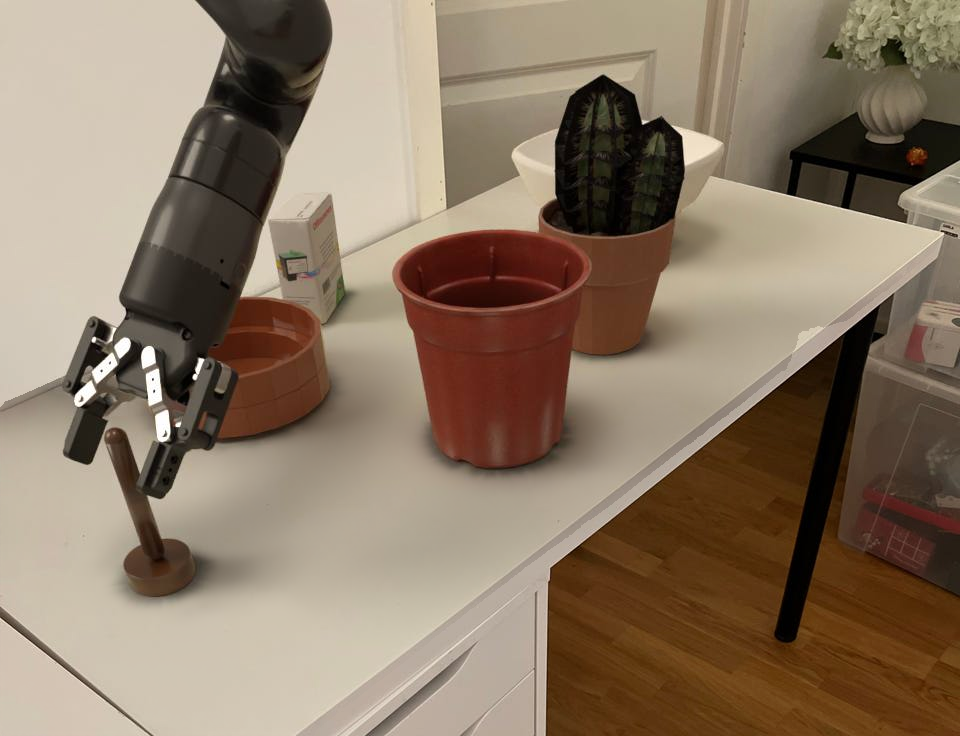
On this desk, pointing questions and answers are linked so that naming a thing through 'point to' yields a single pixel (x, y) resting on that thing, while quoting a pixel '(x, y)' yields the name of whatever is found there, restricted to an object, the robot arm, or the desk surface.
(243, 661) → the desk surface
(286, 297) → the ink box
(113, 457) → the brown peg stand
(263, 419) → the shallow terracotta planter
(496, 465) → the flower pot
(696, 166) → the bowl
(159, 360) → the robot arm
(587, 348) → the potted plant
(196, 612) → the desk surface
